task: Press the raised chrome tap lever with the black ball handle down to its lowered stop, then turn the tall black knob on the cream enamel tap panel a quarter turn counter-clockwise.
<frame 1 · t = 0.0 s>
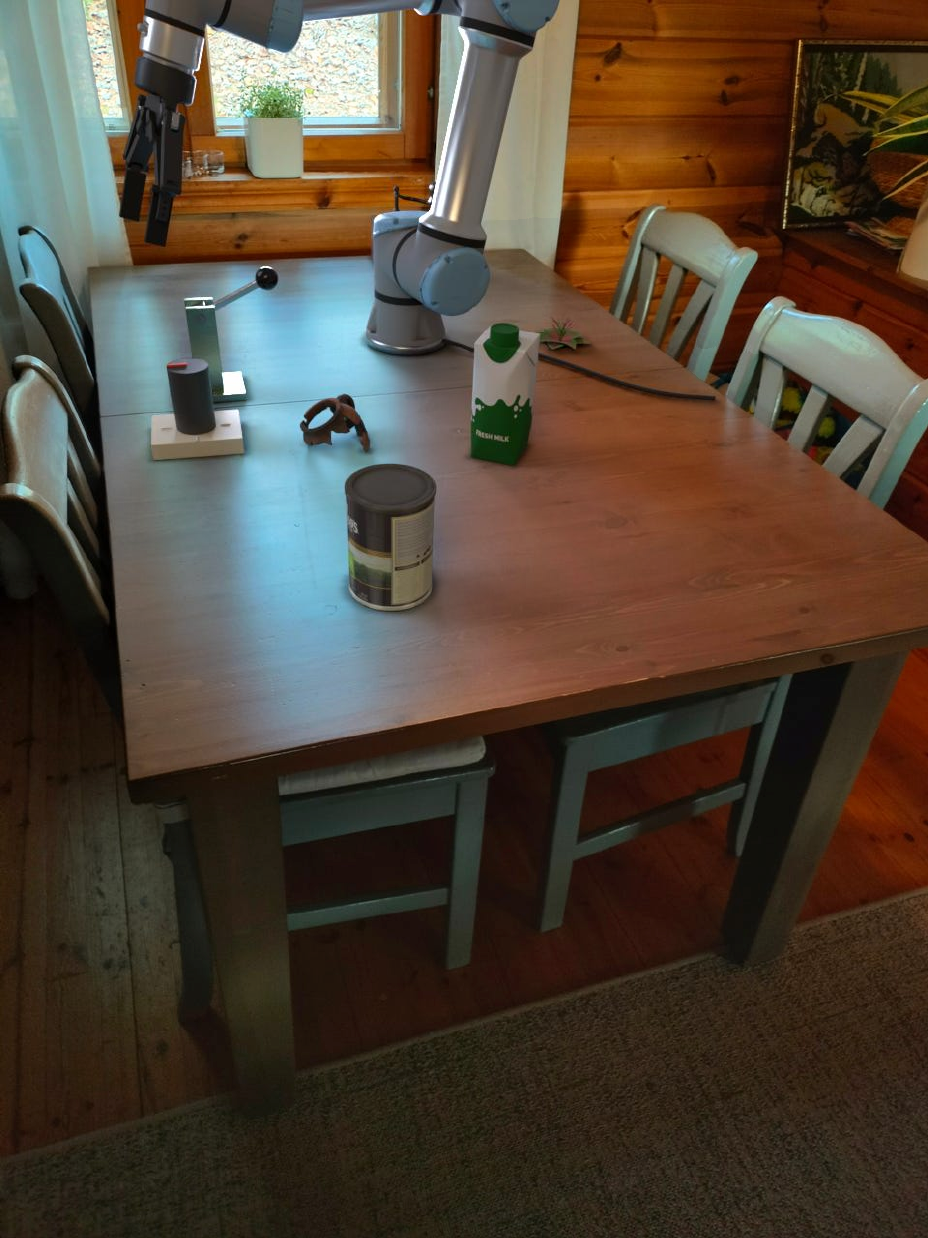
hand: (141, 231, 128), 28 cm above the table, tool tilted 20°, fingers open, 13 cm apart
grey metal lever stand: (210, 391, 153), on the table
tap lever: (234, 295, 145), point 16 cm above the table, hinge at 25.0°
coffee can: (391, 587, 111), on the table
broken clay pot: (339, 444, 140), on the table
tap panel: (198, 441, 138), on the table
milk carton: (499, 452, 140), on the table
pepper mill: (407, 262, 214), on the table
lily flower: (559, 342, 178), on the table
tap knob: (191, 395, 134), point 7 cm above the table, hinge at 0.0°
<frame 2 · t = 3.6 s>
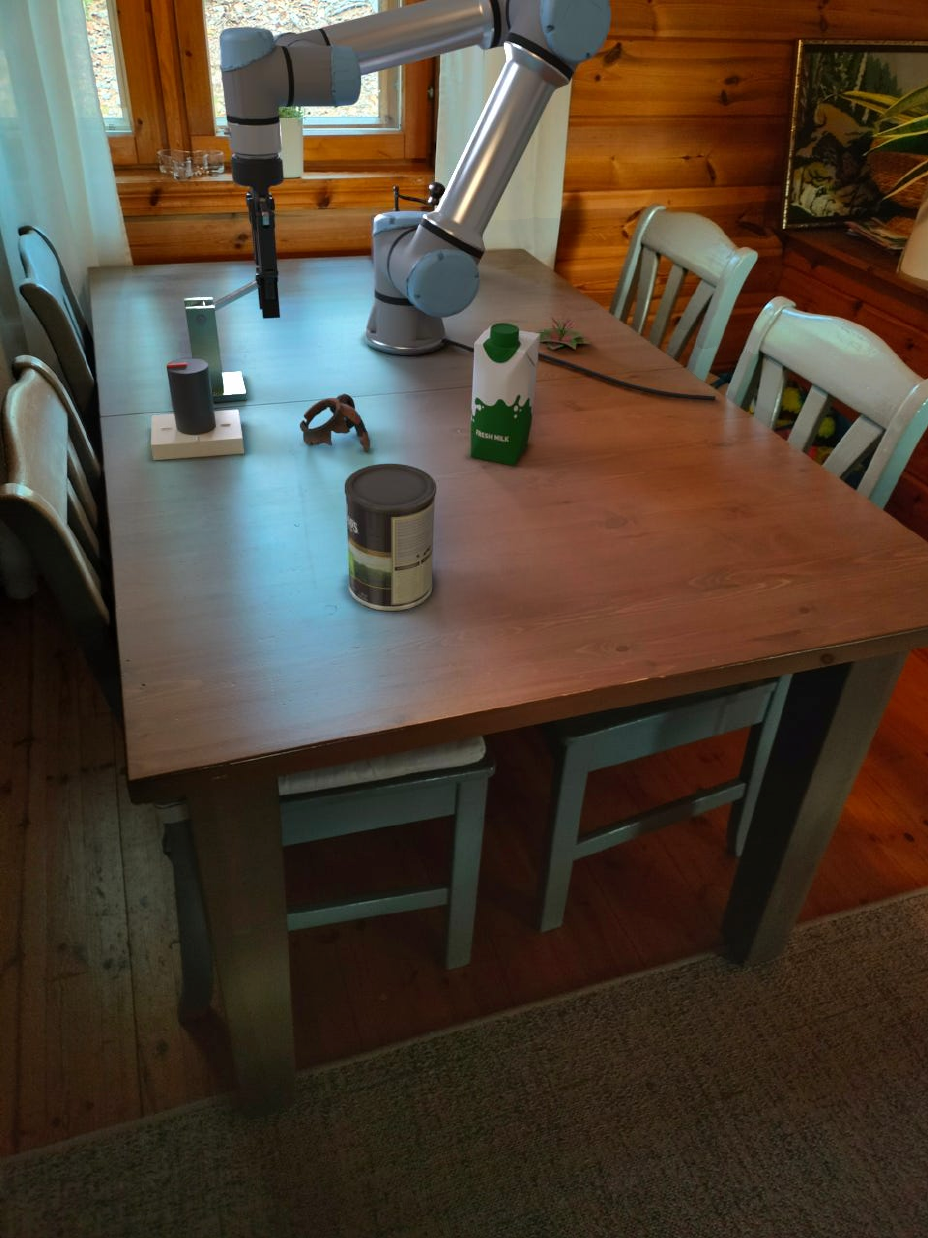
hand: (269, 312, 148), 13 cm above the table, tool pointing down, fingers closed on tap lever, 4 cm apart
tap lever: (234, 295, 145), point 16 cm above the table, hinge at 25.0°, touching gripper
everything else where it was.
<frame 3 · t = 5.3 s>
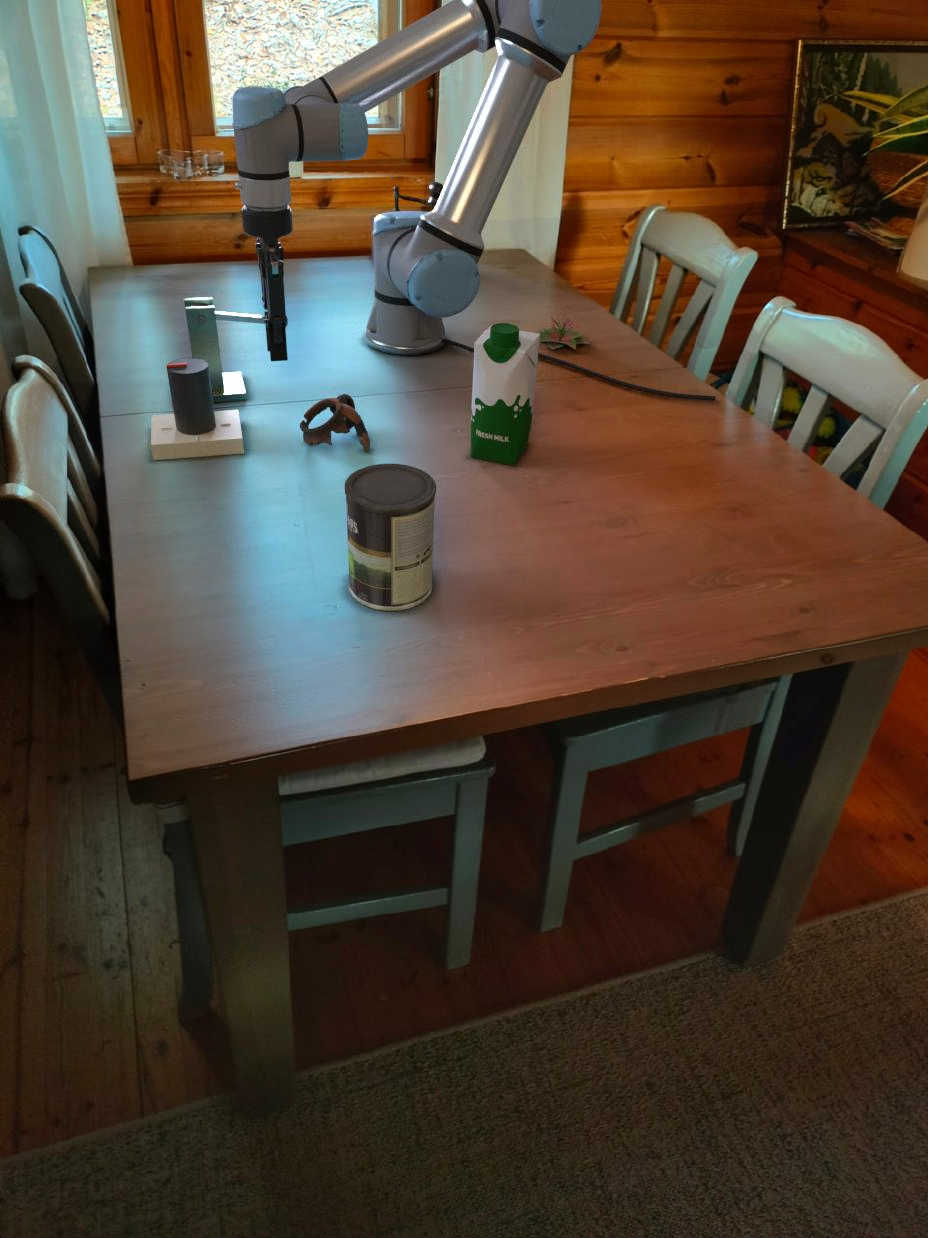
hand: (277, 354, 152), 6 cm above the table, tool pointing down, fingers closed on tap lever, 4 cm apart
tap lever: (240, 317, 147), point 12 cm above the table, hinge at -8.4°, touching gripper
everything else where it was.
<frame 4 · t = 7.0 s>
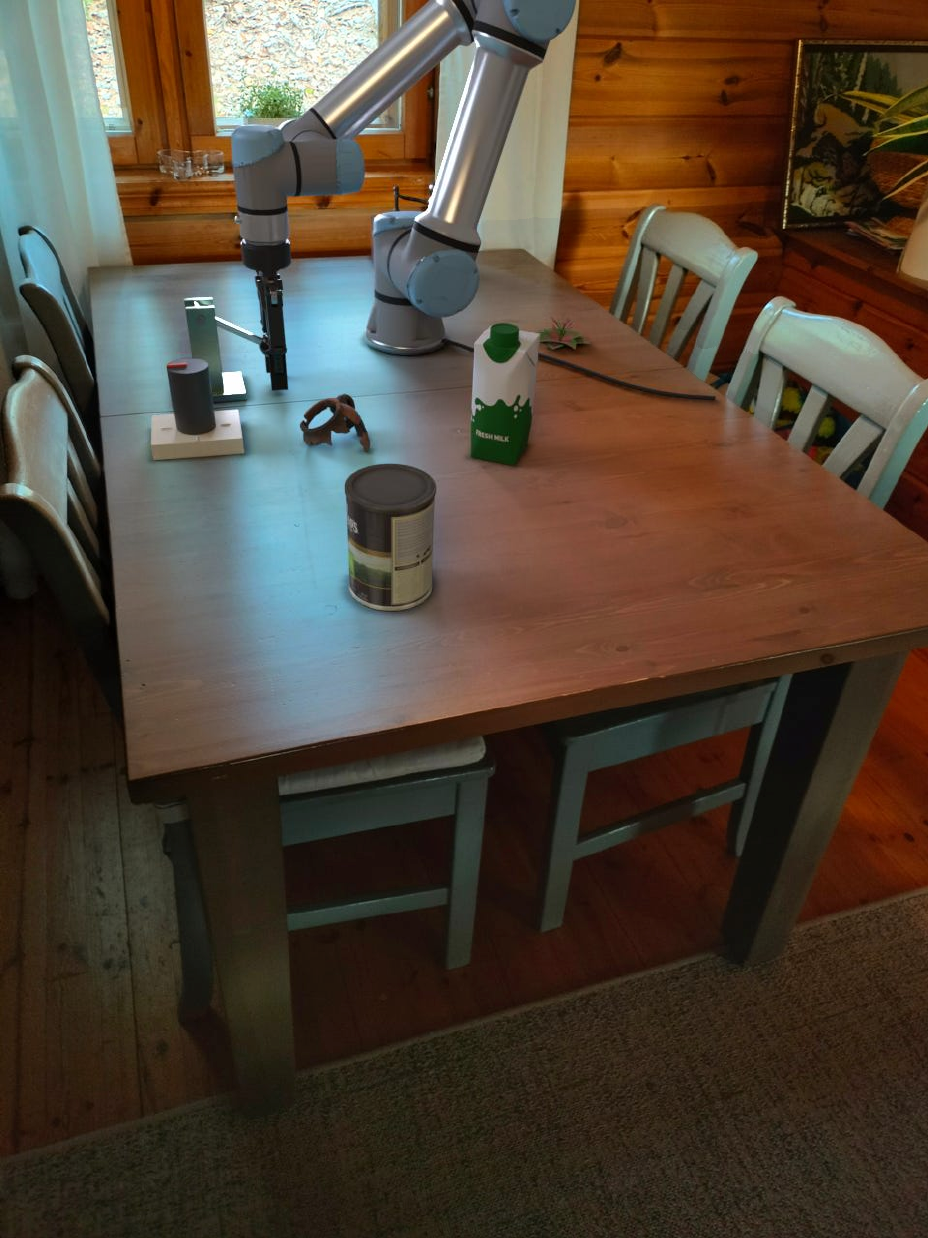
hand: (277, 380, 155), 1 cm above the table, tool pointing down, fingers open, 7 cm apart
tap lever: (237, 330, 148), point 10 cm above the table, hinge at -29.2°
everything else where it was.
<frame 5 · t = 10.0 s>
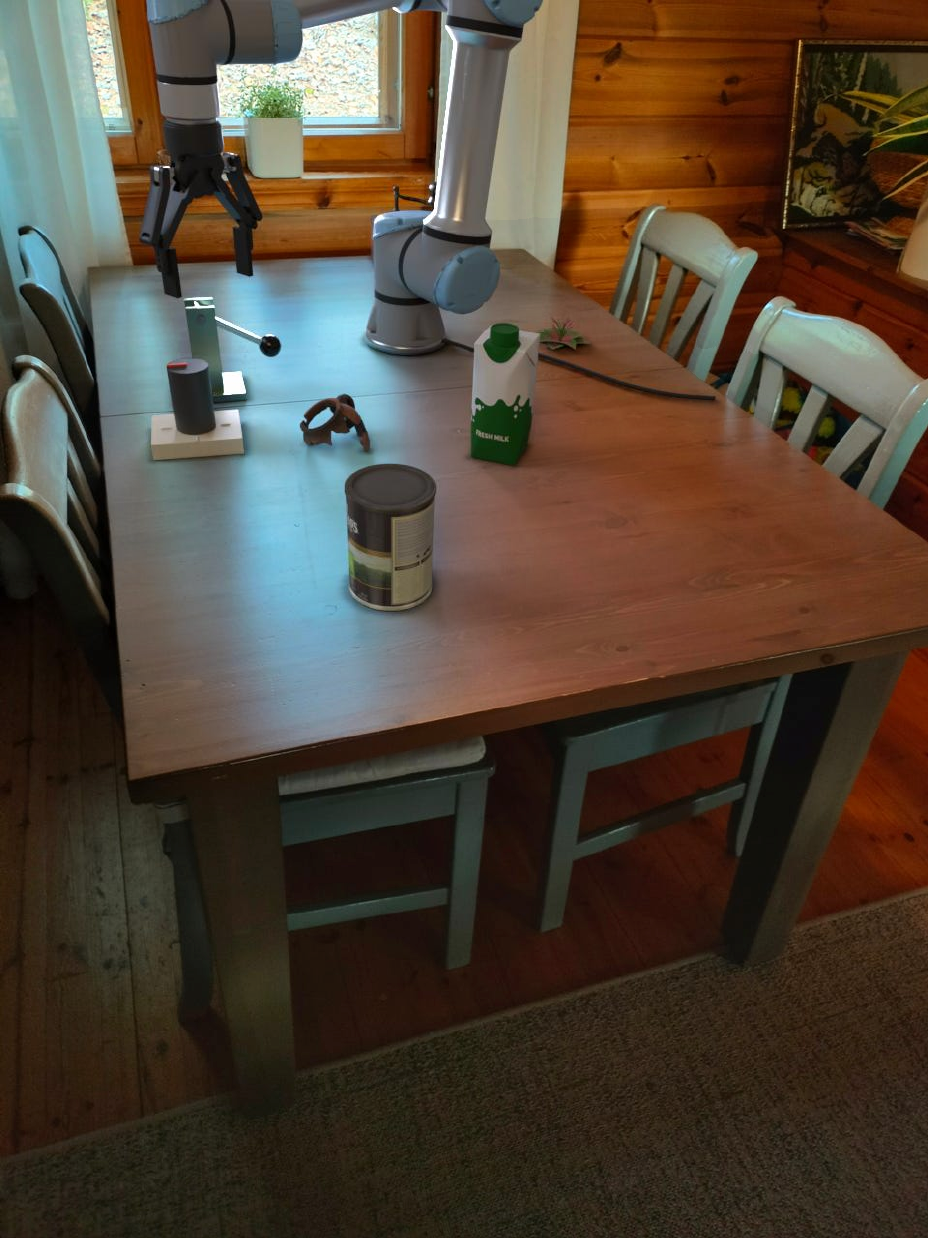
hand: (210, 284, 131), 21 cm above the table, tool pointing down, fingers open, 13 cm apart
nothing on the table moved.
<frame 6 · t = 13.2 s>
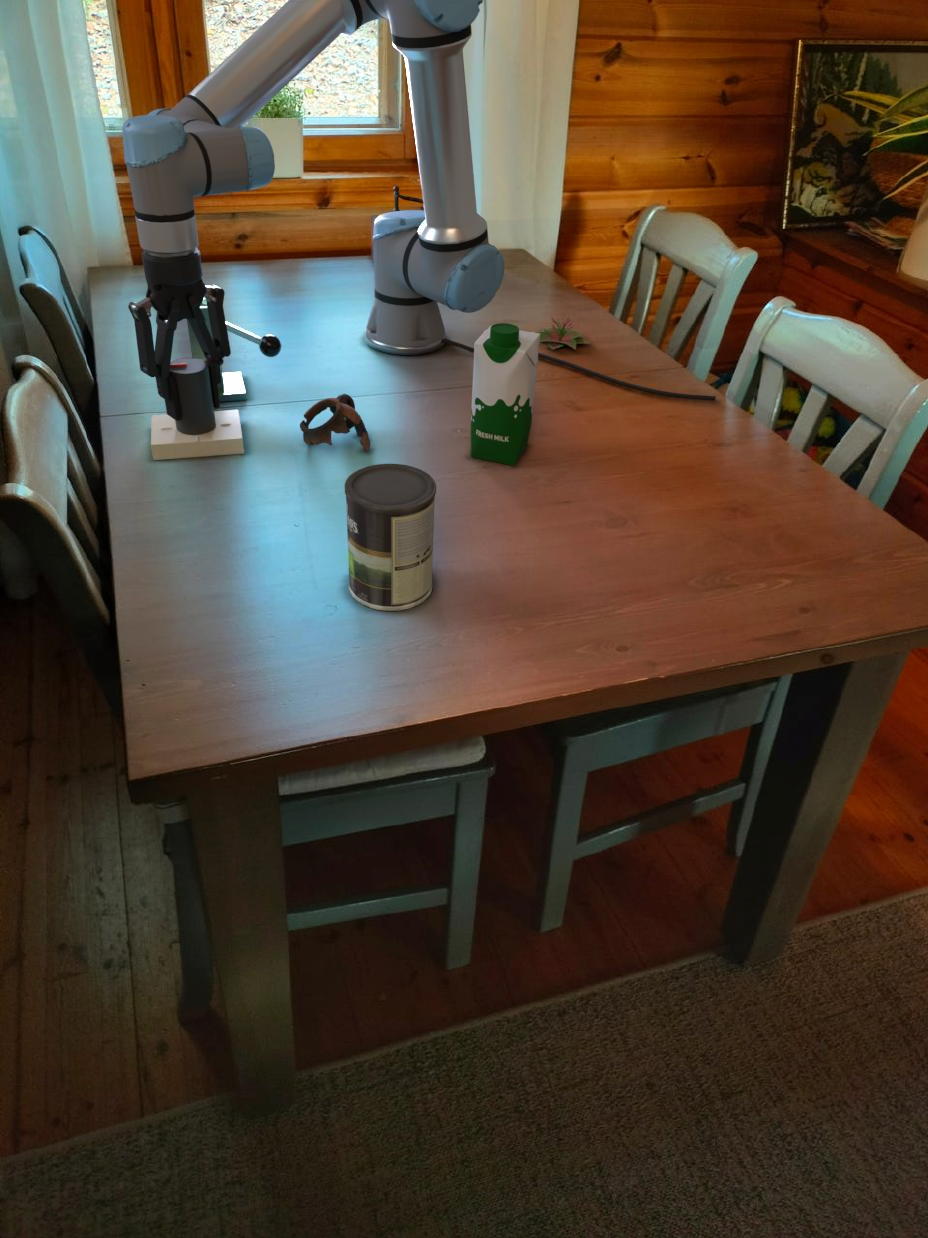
hand: (194, 410, 135), 5 cm above the table, tool pointing down, fingers closed on tap knob, 6 cm apart
tap knob: (191, 395, 134), point 7 cm above the table, hinge at 0.0°, touching gripper
everything else where it was.
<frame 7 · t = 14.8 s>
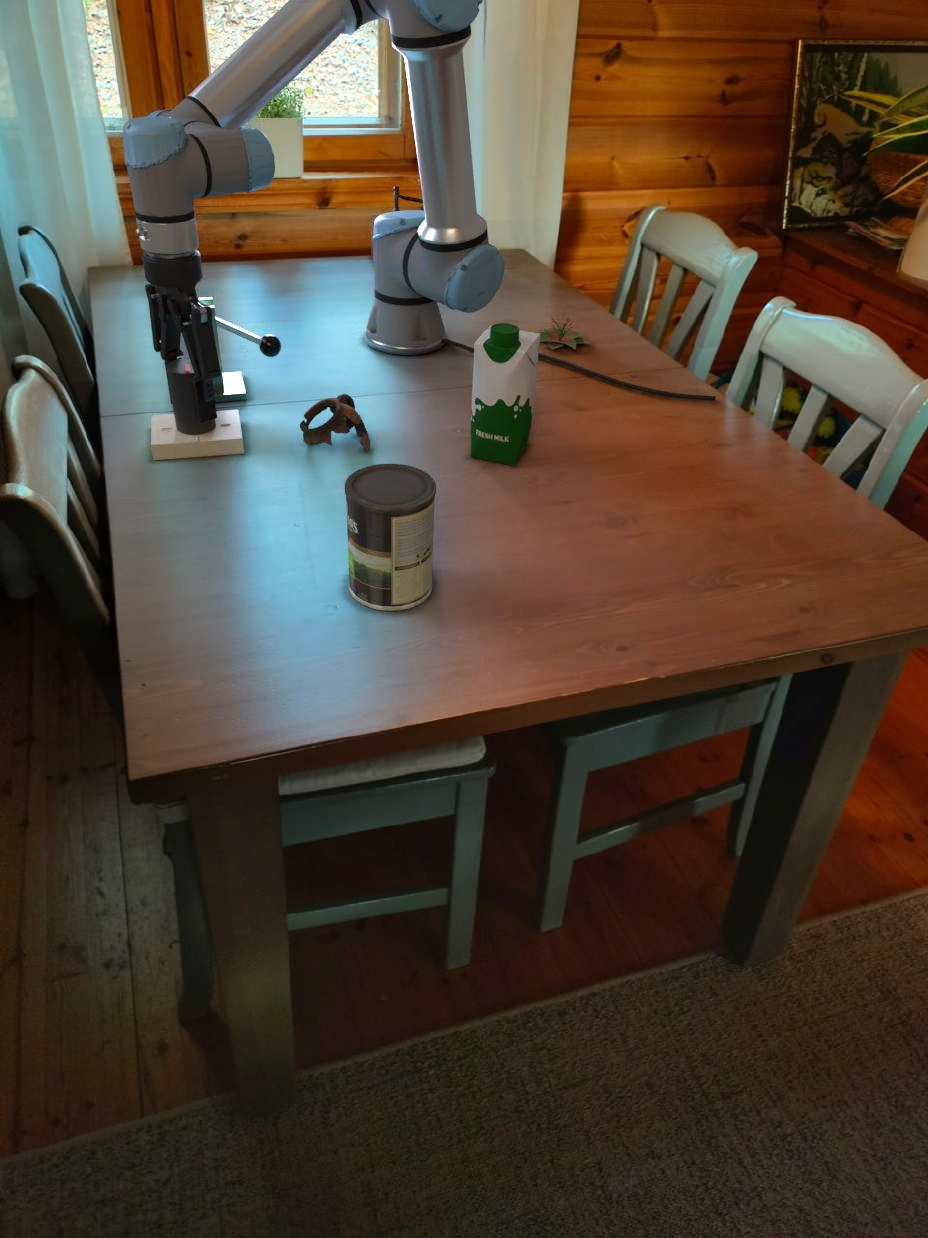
hand: (193, 410, 135), 5 cm above the table, tool pointing down, fingers open, 7 cm apart
tap knob: (191, 395, 134), point 7 cm above the table, hinge at 90.0°
everything else where it was.
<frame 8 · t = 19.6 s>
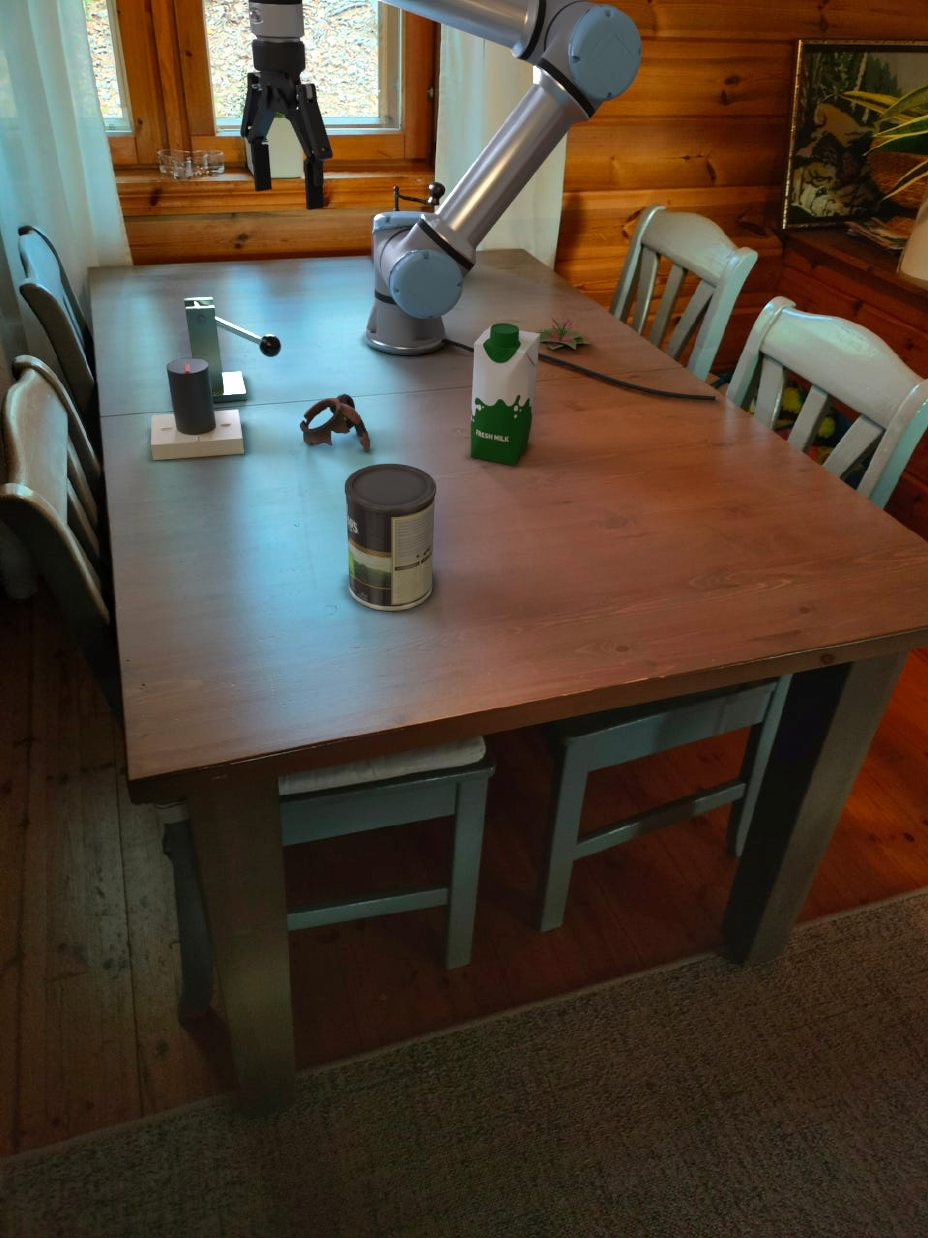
hand: (288, 199, 142), 29 cm above the table, tool pointing down, fingers open, 13 cm apart
nothing on the table moved.
at the end: tap lever at -29° (first picture: +25°); tap knob at +90° (first picture: +0°) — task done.
